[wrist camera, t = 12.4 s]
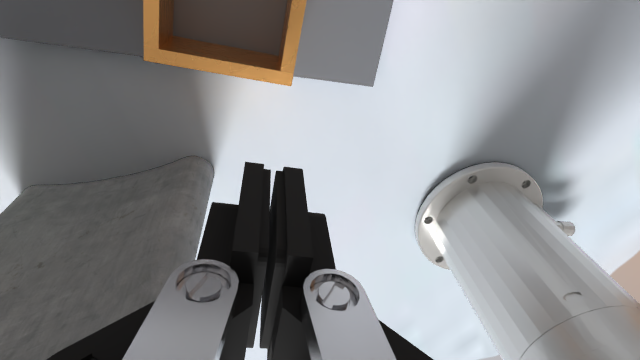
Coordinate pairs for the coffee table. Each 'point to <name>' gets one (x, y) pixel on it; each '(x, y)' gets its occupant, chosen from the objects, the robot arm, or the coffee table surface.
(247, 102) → the coffee table surface
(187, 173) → the hip flask
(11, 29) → the base plate
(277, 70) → the wooden box with dish
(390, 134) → the coffee table surface
